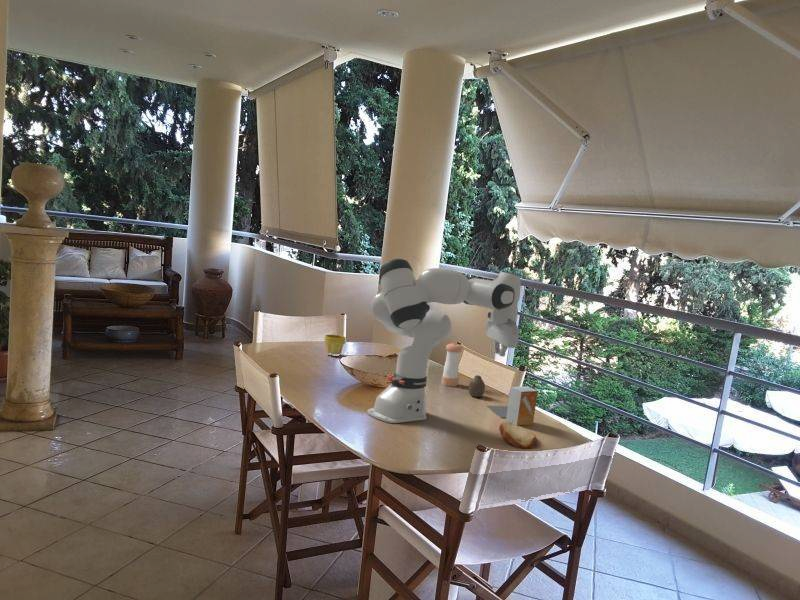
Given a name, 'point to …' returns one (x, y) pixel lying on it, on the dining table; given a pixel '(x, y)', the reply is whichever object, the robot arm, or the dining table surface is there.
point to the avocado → (476, 387)
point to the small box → (521, 405)
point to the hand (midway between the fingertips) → (499, 354)
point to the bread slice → (518, 436)
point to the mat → (499, 410)
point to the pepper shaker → (451, 365)
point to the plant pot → (334, 343)
